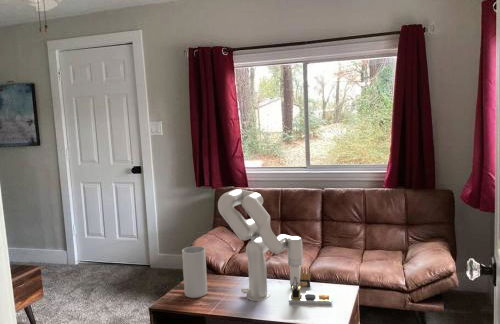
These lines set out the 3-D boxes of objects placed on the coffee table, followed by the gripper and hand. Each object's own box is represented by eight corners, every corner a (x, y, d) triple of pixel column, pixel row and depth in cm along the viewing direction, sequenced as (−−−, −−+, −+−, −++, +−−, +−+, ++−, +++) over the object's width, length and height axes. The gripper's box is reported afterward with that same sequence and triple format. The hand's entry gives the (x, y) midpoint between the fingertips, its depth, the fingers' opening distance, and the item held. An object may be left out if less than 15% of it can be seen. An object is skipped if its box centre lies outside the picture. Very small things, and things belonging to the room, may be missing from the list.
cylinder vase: (180, 293, 237) (177, 249, 235) (200, 287, 245) (197, 244, 242) (191, 300, 227) (189, 255, 225) (211, 293, 235) (209, 249, 232)
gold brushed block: (292, 302, 218) (291, 289, 217) (292, 298, 222) (292, 285, 221) (300, 302, 217) (300, 289, 217) (300, 299, 222) (300, 286, 221)
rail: (289, 305, 217) (289, 299, 216) (290, 299, 224) (289, 293, 224) (331, 306, 213) (331, 301, 213) (330, 300, 221) (330, 294, 221)
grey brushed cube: (306, 302, 217) (305, 294, 217) (306, 299, 221) (305, 290, 221) (314, 302, 216) (314, 294, 216) (314, 299, 221) (314, 290, 220)
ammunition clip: (310, 287, 238) (309, 266, 237) (310, 288, 237) (309, 267, 235) (291, 286, 240) (290, 266, 239) (290, 288, 238) (290, 267, 237)
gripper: (288, 255, 227) (289, 286, 228) (286, 267, 210) (287, 300, 211) (303, 255, 225) (304, 286, 227) (302, 267, 208) (303, 300, 210)
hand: (296, 293), depth 219 cm, fingers open, 9 cm apart
